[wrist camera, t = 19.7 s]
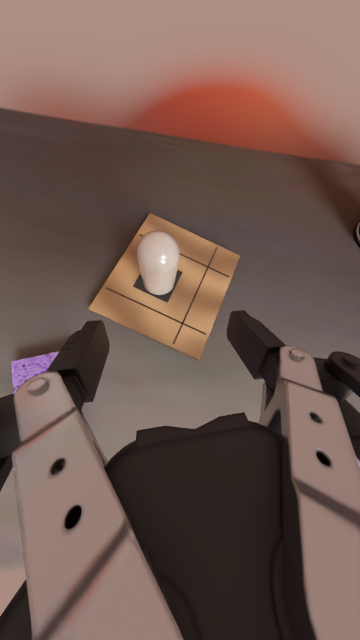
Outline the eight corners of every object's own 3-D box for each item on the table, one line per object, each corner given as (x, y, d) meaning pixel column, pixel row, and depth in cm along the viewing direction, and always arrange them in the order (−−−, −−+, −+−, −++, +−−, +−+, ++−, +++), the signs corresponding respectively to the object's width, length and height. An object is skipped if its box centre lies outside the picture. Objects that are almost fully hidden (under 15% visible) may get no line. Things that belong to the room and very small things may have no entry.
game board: (150, 219, 30) (149, 212, 28) (236, 260, 30) (240, 255, 28) (92, 311, 24) (87, 308, 23) (197, 359, 25) (199, 360, 23)
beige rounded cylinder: (151, 260, 26) (147, 211, 17) (180, 273, 26) (190, 232, 17) (136, 286, 25) (123, 247, 16) (166, 300, 25) (170, 269, 16)
